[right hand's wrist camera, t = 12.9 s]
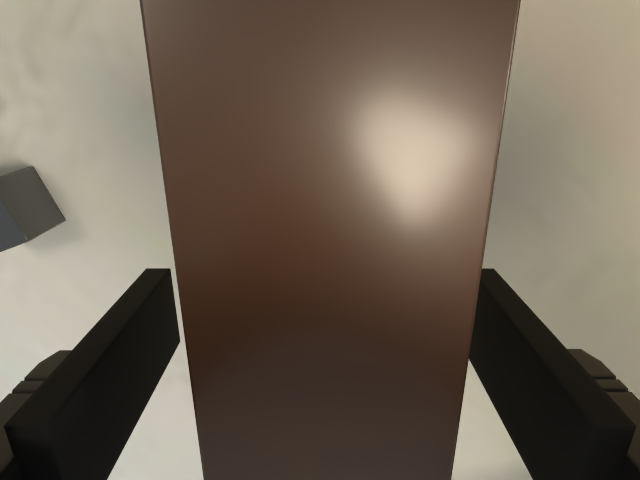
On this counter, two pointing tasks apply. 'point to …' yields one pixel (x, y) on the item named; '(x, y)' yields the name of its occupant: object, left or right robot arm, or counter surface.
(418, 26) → the walnut bar
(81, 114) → the counter surface
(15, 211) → the slate cube
